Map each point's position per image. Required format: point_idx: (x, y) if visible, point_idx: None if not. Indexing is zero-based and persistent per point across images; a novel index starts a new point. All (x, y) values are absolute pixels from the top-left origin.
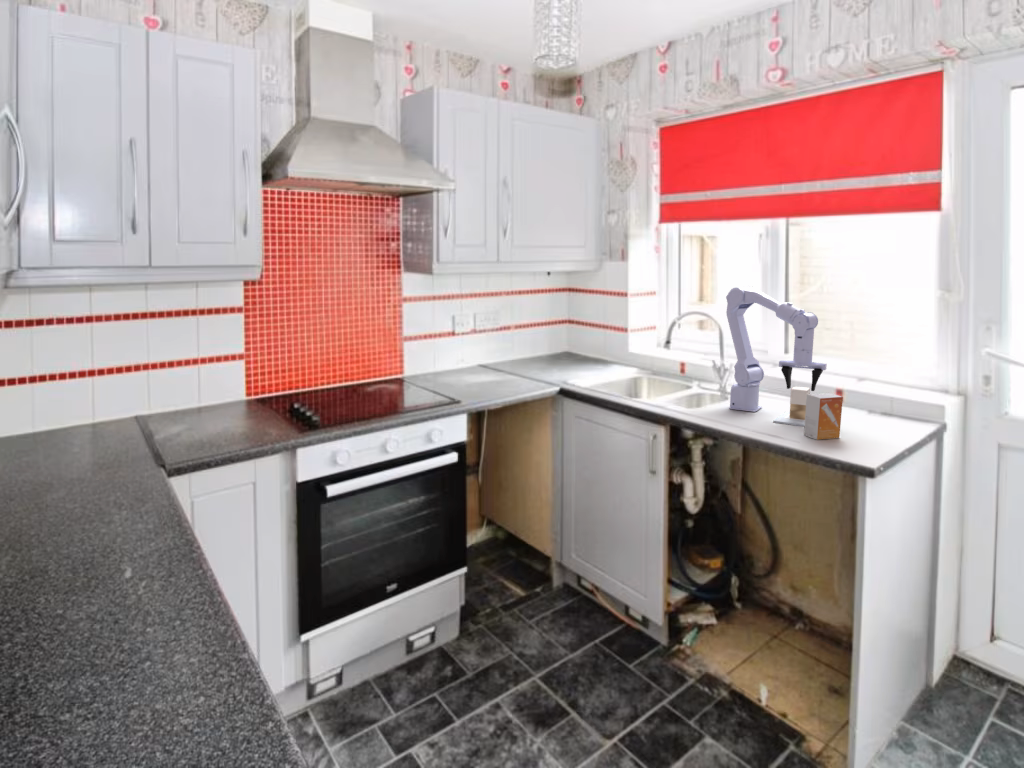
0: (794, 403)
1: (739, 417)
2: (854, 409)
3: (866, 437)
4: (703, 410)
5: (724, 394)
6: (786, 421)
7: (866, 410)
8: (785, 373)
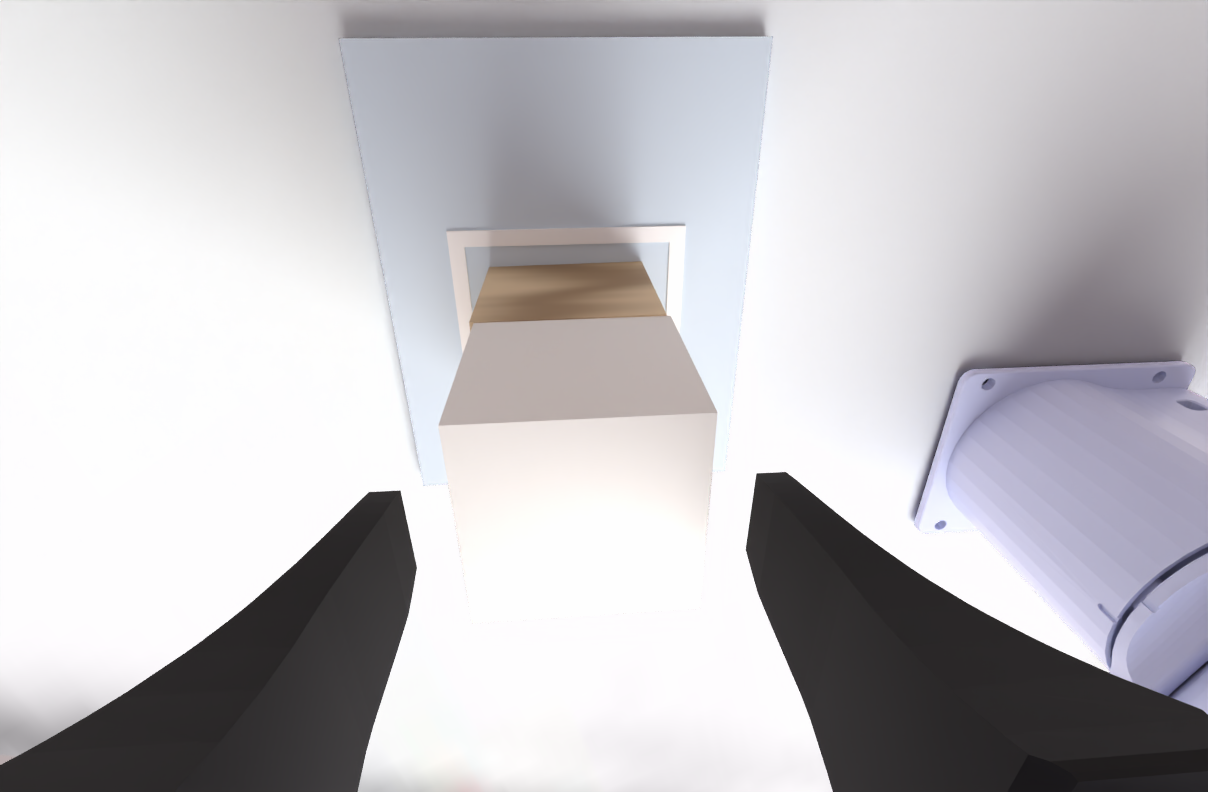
0: (617, 322)
1: (1121, 78)
2: None
3: None
4: None
5: None
6: (633, 79)
7: None
8: (1013, 666)
